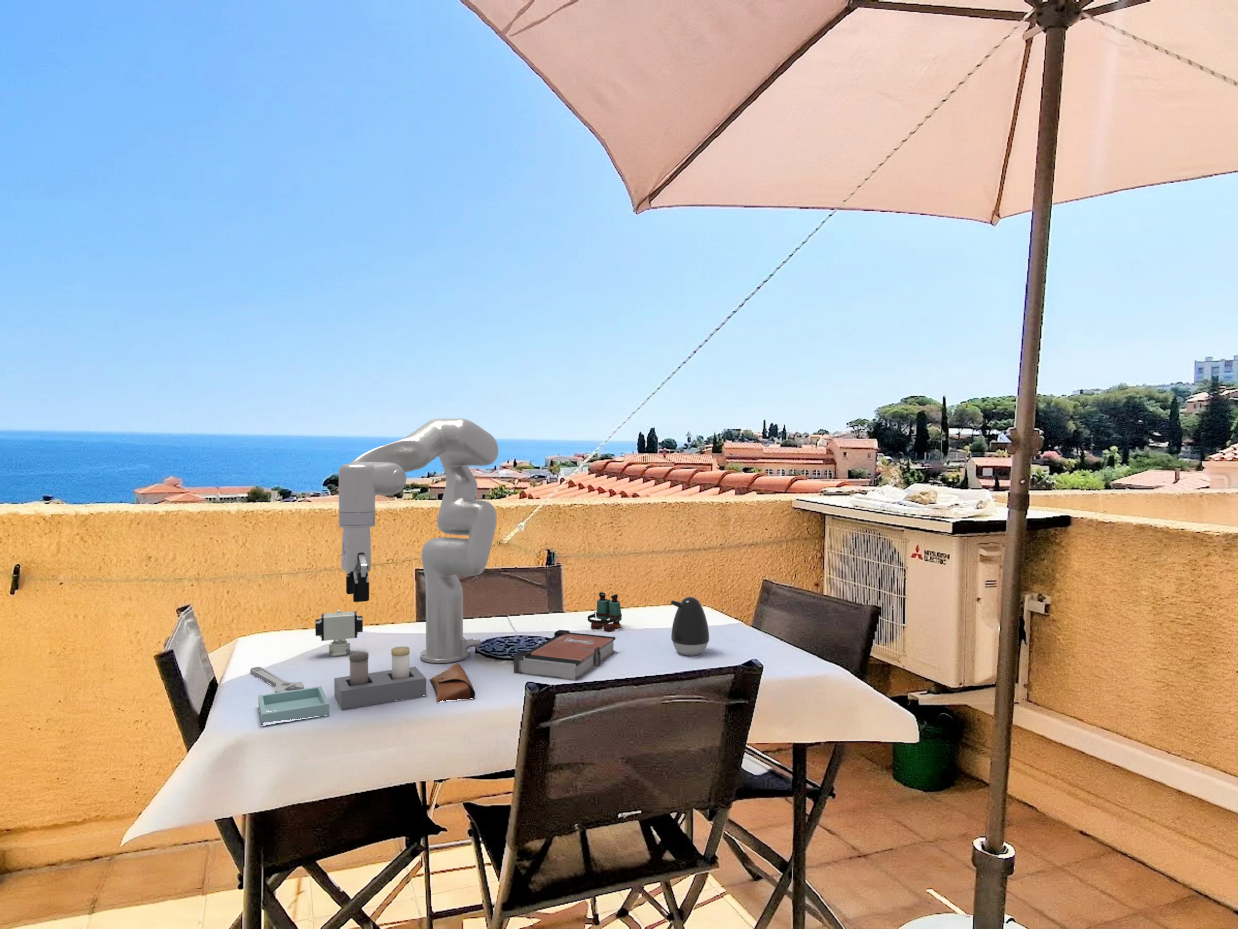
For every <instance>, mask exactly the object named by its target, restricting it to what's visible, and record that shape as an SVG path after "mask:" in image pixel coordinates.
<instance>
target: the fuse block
mask: <svg viewBox="0 0 1238 929" xmlns="http://www.w3.org/2000/svg"><path fill="white" fill-rule="evenodd" d="M333 679H334V680H333V682H334V683H333V685H334V688H333V689H334V694H333V695H334V698H335V700H336V701H337V704H338V706H339V709H340V710H341V709H344V710H348V709H347V708H350V709H353V707H356V708H361V707H360V706H362V707H367V706H366V705H368V706H373V705H372V704H375V705H380V703H381V704H386V702H387V703H393V702H396V701H395V700H399V701H402V700H401V699H405V700H408V699H407V698H411V699H413V698H412V697H417V698H419V697H418V696H423V695H426V696H427V677H426V676H425V675H424V674H423V673H422V671H420V670H419V668H417V666H409V677H408V678H402V679H395V680H392V669H390V670H389V669H387V670H382V671H375V672H368V684H362V685H355V686H350V675H347V676H346V675H345V676H341V677H334V678H333ZM423 697H424V696H423ZM392 701H393V702H392Z"/></svg>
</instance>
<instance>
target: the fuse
mask: <svg viewBox="0 0 1238 929" xmlns="http://www.w3.org/2000/svg"><path fill="white" fill-rule="evenodd" d="M390 653H391V670H392V680H395V679H402V678H408V677H409V667H410V653H411V648H410V647H408V646H396V647H393V648H391V650H390Z"/></svg>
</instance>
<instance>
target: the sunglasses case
mask: <svg viewBox="0 0 1238 929" xmlns="http://www.w3.org/2000/svg"><path fill="white" fill-rule="evenodd" d="M429 680H430V681H431V682H430V681H429V682H430V683H431V685H432V684H433V685H432V687H433V690H434V689H435V690H434V692H436V693H435V696H436V703H437V702H440V701H442V700H443V701H446V700H457V699H470V698H473V700H474V699H475V697H476V691H475V690H474V687H473V684H472V683H471V680H470V679H469V677H468V674H467V673H466V672H465V670H464V668H463V667H462V665H461V664H460V663H459V662H456V663H454V664H452V666H450V668H448V669H446V670H444V671H442V672H440V673H438V674H437V675H435V676H433V677H431V678H429ZM470 700H471V699H470Z"/></svg>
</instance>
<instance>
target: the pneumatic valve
mask: <svg viewBox="0 0 1238 929" xmlns="http://www.w3.org/2000/svg"><path fill="white" fill-rule="evenodd" d="M357 612H358V611H357V610H355V611H342V610H341V609H337V610H336V612H329V613H321V616H320V618H317V619H315V621H314V622H315V625H314V626H315V632H314V633H315V637H320V638H321V642H325V641H331V644H329V645H328V654H330V655H331V657H334V656H335V657H344V655H345V656H348V653H350V652H351V643H350V642H348V640H349V639H357V638H358V635H359V633H363V629H364V627H363V626H364V623H363V622H364V620H363V619H364V618H363V615H358V613H357ZM347 639H348V640H347ZM335 657H334V658H335Z"/></svg>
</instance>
